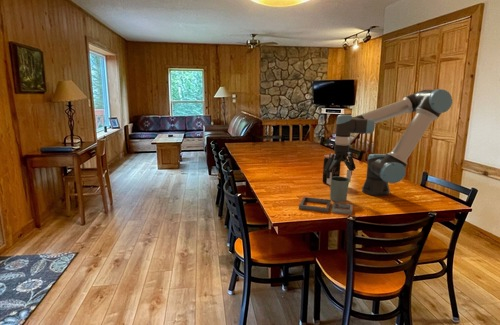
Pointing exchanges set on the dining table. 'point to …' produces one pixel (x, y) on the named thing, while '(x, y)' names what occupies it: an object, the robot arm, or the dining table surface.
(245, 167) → the dining table surface
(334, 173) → the coffee jar
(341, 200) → the grey cup
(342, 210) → the grey diamond-shaped open frame
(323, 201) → the square hollow frame
